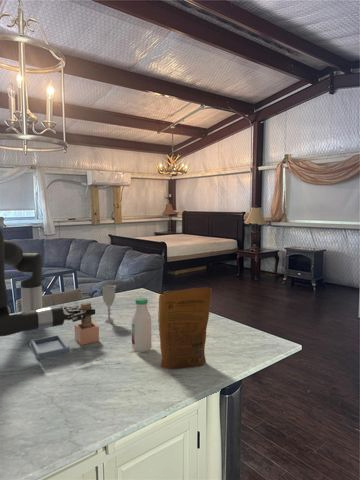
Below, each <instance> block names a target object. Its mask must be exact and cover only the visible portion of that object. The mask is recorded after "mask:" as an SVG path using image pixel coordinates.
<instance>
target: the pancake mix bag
mask: <svg viewBox="0 0 360 480" xmlns="http://www.w3.org/2000/svg"><path fill="white" fill-rule="evenodd" d="M212 290H213V289H212V288H210V287H193V288H192V287H191V288H186V289H179V290H176V289H175V290H166V291H162V294H159V295H158V321H157V322H158V333H159V343H160V344H159V345H160V356H161V361H160V367H162V368H164V369H167V370H179V369H186V368H187V369H188V368H199V367H200V368H201V367H202V365H203V366H204V365H205V364H206V362H207V361H206V354H205V348H206V347H205V346H206V342H207V327H208V322H209V317H210V316H209V315H210V309H211V304H212V303H211V302H212Z"/></svg>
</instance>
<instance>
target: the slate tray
mask: <svg viewBox="0 0 360 480" xmlns="http://www.w3.org/2000/svg"><path fill="white" fill-rule="evenodd" d="M30 347H31V349H32V351H33V353H34V355H35V356H36V358H37V361H38V362H40V359H44V358H49V357H54V356H58V355H61V354H66V353H70V352H71V347H70V346H69V345H68V344H67V342H66V341H65V340H64V338H63V337H62V335H60V334H55V335H49V336H44V337H40V338H34V339H30Z"/></svg>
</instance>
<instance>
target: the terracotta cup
mask: <svg viewBox="0 0 360 480" xmlns="http://www.w3.org/2000/svg"><path fill="white" fill-rule="evenodd" d="M91 324H92V327H89V328H84V329H82V328H81V322H80V323H76V324H74V339H75V340H76V342H77V343H78V344H79V345H80V346H82V345H86V344H91V343H95V342H99V341H100V330H99V329H100V326H99V325H97V324H96V322H94V321H92V320H91Z"/></svg>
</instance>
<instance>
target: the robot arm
mask: <svg viewBox="0 0 360 480" xmlns="http://www.w3.org/2000/svg"><path fill="white" fill-rule="evenodd" d="M5 265H8V266H11V267H12V268H14V269H15V270H17V271H18V272H20V273H31V276H29V277H27V278H24V279H22V280H21V281H20V296H21V297H20V298H21V299H20V302H21V313H16V314H10V312H9V307H8V306H9V298H8V292H7V286H6V277H5V275H6V274H5V273H6V272H5ZM42 279H43V258H42V255H41V254H40V253H38V252H24V251H23V249H22V247H21V246H20V245H19V244H17V243H15V242H14V241H12V240H8V239H5V238H4V234H3V231H2V229H1V228H0V337H5V336H11V335H15V334H18V333H21V332H25V331H26V332H27V331H33V330H39V329H48V328H53V327H60V326H63V325H64V324H65V323H64V322H65V321H72V323H74V322H78V321H81V320H82V319H85V318H86V316H89V315H91V316H93V315H94V316H95V315H96V309H95V308H93V307H92V306H91V309H90V310H82V311H81V306H79V305H72V306H64V307H62V305H57V306H49V307H43V288H42V287H43V285H42V283H43V282H42ZM82 314H83V315H82Z"/></svg>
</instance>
